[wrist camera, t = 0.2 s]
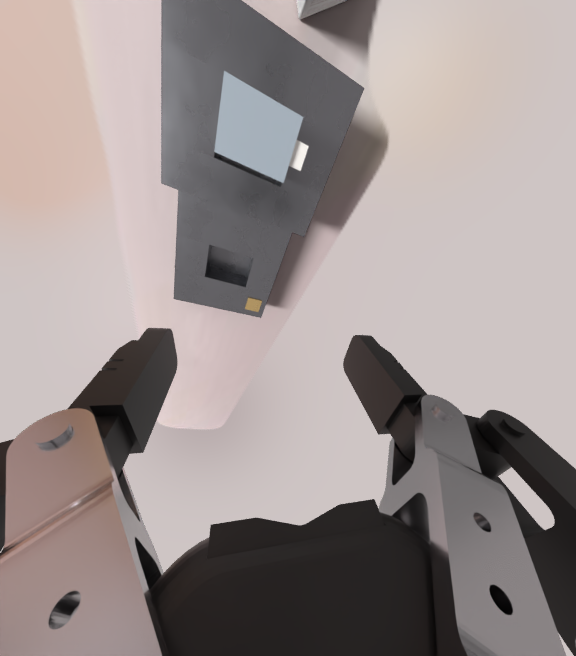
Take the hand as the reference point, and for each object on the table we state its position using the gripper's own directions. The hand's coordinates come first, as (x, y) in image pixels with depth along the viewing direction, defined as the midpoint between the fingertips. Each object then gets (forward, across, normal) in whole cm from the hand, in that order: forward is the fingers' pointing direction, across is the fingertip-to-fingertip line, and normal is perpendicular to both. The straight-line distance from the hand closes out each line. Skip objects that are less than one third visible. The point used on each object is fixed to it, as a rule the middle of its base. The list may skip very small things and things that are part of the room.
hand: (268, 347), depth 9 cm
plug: (+15, +1, -10) cm, 18 cm away
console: (+22, +2, -4) cm, 23 cm away
